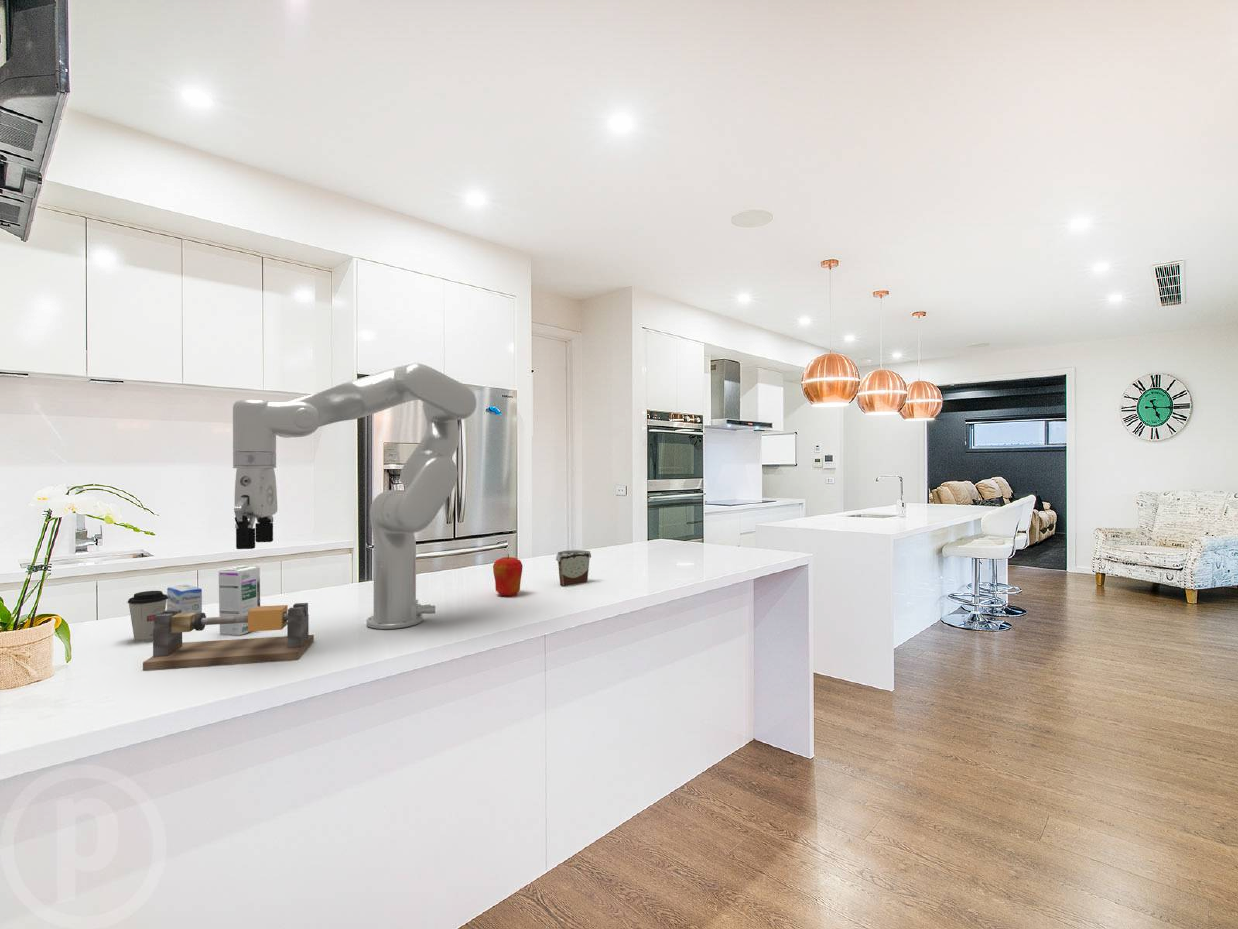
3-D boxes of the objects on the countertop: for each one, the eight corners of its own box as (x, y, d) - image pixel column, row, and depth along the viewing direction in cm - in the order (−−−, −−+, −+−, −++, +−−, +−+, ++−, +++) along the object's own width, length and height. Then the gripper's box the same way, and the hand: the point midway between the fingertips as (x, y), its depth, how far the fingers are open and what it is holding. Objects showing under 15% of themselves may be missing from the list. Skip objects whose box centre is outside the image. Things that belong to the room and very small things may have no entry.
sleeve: (287, 624, 124) (287, 605, 124) (281, 629, 120) (281, 609, 120) (254, 626, 122) (254, 606, 122) (247, 631, 118) (247, 611, 118)
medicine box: (166, 623, 142) (166, 587, 142) (187, 619, 146) (187, 583, 146) (180, 629, 138) (180, 591, 138) (202, 624, 142) (202, 587, 142)
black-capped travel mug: (118, 643, 127) (118, 596, 127) (148, 634, 134) (148, 589, 134) (147, 645, 126) (147, 597, 126) (176, 635, 133) (176, 590, 133)
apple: (488, 593, 175) (488, 553, 175) (515, 590, 180) (515, 550, 180) (499, 599, 168) (500, 557, 168) (527, 595, 173) (527, 554, 173)
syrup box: (240, 636, 133) (240, 570, 132) (218, 634, 134) (218, 569, 134) (261, 629, 138) (261, 565, 138) (239, 627, 139) (239, 564, 139)
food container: (579, 579, 197) (579, 548, 197) (591, 582, 192) (591, 551, 192) (548, 584, 189) (548, 552, 189) (559, 587, 184) (559, 554, 184)
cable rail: (313, 641, 129) (313, 599, 129) (298, 659, 117) (298, 613, 117) (173, 650, 122) (173, 605, 122) (142, 670, 111) (142, 621, 111)
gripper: (259, 461, 115) (259, 551, 115) (289, 460, 132) (289, 539, 132) (215, 461, 113) (215, 552, 113) (251, 460, 130) (251, 540, 130)
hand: (255, 545), depth 123 cm, fingers open, 9 cm apart
